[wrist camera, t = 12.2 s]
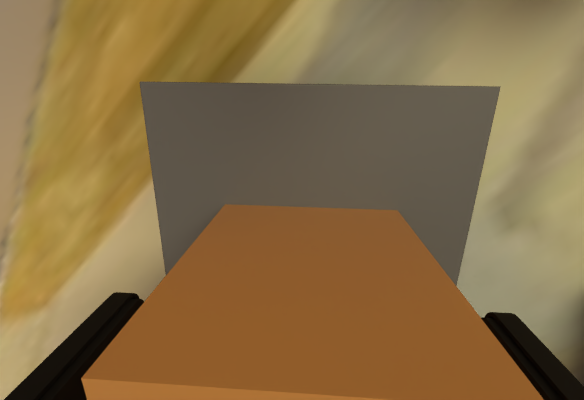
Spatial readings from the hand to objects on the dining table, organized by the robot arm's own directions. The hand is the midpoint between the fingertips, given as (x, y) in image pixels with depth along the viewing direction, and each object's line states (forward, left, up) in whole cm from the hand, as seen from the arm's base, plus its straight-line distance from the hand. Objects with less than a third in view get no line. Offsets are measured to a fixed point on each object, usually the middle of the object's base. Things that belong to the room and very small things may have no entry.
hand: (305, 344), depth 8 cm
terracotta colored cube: (0, 0, -3) cm, 3 cm away
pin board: (0, 0, -5) cm, 5 cm away
